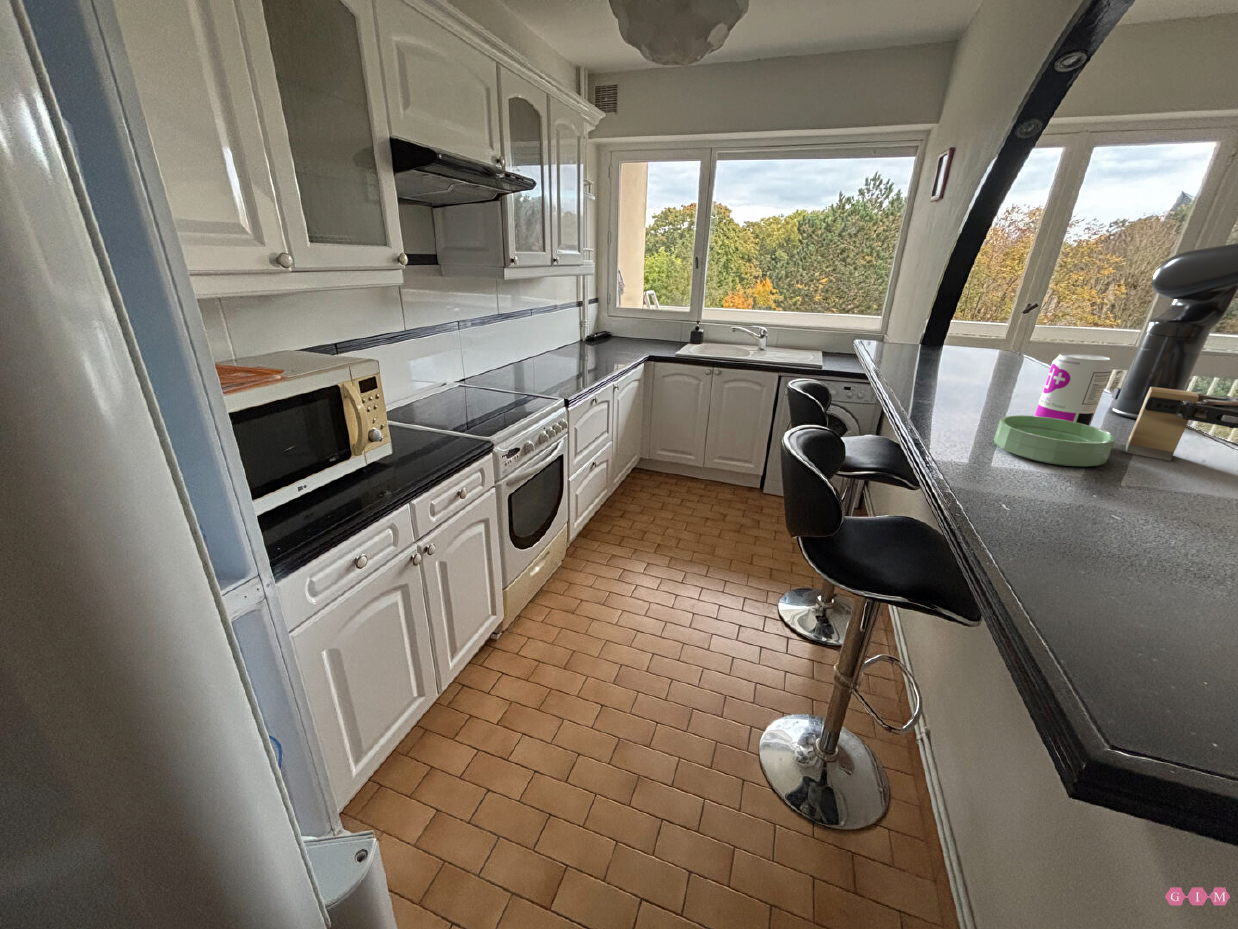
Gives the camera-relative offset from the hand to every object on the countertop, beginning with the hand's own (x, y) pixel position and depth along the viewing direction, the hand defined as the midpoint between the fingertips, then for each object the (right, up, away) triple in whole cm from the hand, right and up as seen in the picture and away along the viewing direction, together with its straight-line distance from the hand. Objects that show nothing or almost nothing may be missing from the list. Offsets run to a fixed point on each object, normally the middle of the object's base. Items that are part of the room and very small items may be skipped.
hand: (1146, 400), depth 86 cm
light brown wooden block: (+2, -9, +2) cm, 9 cm away
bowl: (-16, -9, +1) cm, 18 cm away
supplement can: (-6, -6, +11) cm, 14 cm away
